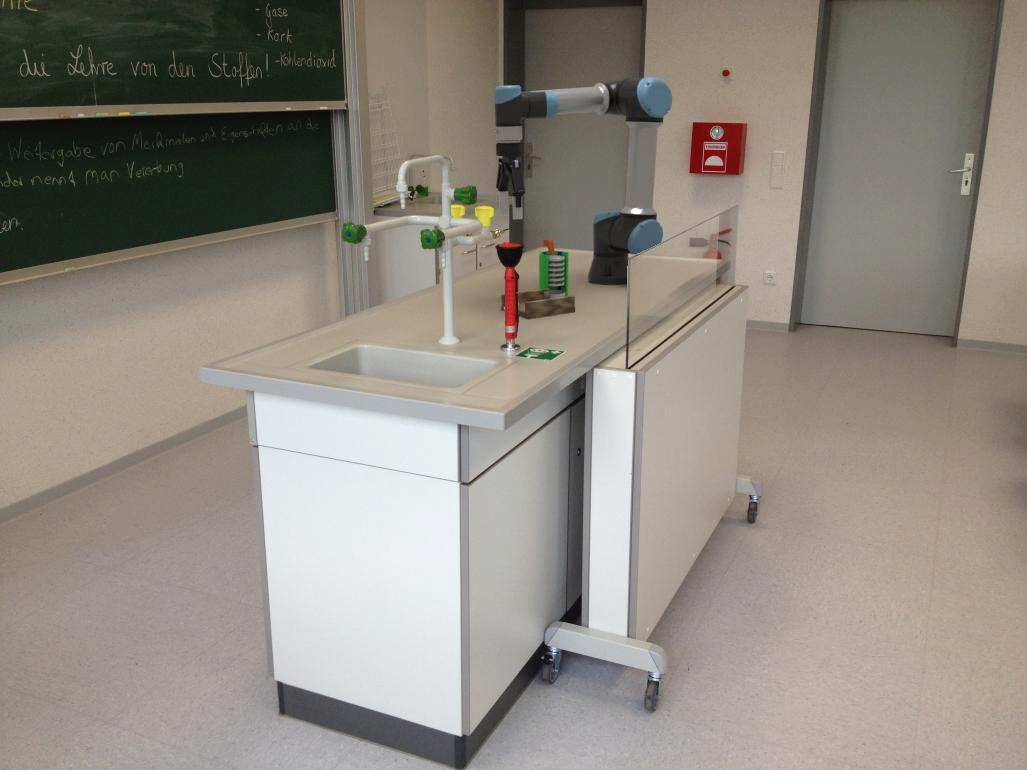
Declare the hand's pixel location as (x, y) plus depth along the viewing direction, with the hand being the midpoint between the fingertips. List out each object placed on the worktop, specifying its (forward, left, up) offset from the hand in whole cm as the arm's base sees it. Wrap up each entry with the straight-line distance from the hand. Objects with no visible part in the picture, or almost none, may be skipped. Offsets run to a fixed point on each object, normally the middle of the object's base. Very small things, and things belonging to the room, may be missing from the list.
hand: (510, 216), depth 284 cm
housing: (-2, +12, -26) cm, 29 cm away
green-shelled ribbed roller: (-15, 0, -27) cm, 30 cm away
